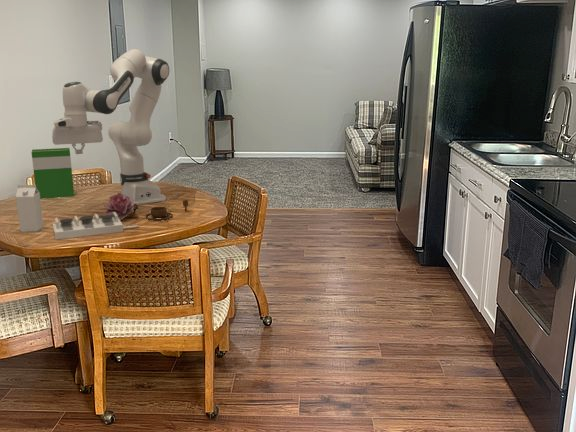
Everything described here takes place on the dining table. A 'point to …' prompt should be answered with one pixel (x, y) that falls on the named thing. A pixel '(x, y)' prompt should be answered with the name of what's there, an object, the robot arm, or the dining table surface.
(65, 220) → the rocker far end
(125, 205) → the flower
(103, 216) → the rocker near arm
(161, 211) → the place setting
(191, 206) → the dining table surface
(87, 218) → the rocker middle
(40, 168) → the hardback book
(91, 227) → the power strip
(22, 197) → the milk carton
